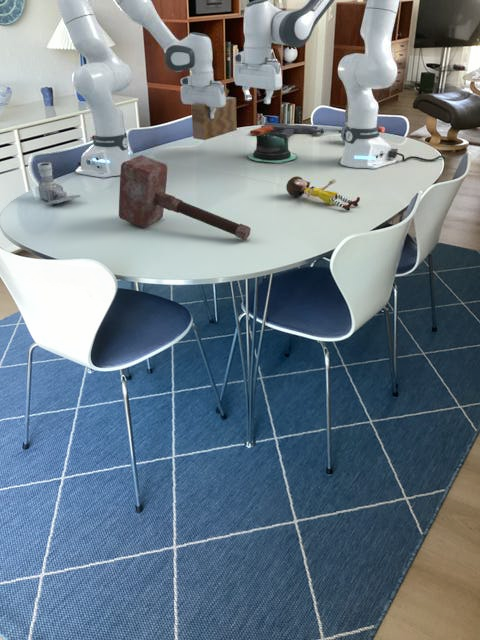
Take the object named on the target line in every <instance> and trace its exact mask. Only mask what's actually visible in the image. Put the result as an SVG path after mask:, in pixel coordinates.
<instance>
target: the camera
mask: <svg viewBox="0 0 480 640" xmlns="http://www.w3.org/2000/svg"><path fill="white" fill-rule="evenodd" d="M37 169H38V172H39V174H40V179H41V182H39V183H38V186H37V187H38V194H39V198H40V199H42V200H45V201H47V205H53V204H60V203H63V202H67V201H70V200H75V199H78V198H81V197H82V196H81V195H80V194H73V195H68V194H67V192H66V190H64V186H62V185H61V184H59V183H55V181H54V177H53V166H52V163H51V162H50V161H43V162H39V163H37ZM67 195H68V196H67Z"/></svg>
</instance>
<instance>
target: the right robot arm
mask: <svg viewBox="0 0 480 640" xmlns="http://www.w3.org/2000/svg"><path fill="white" fill-rule="evenodd" d="M334 2H335V0H307V1H306V3H305V4H304V5H303V6H302V7H301V8H298V9H296V10H283V9H281V8H279V7H277V6H275V5H274V4H272V2H271V1H270V0H252V1H249V2H248V3H247V4H246V5H245V7H244V11H243V35H244V43H243V50H242V51H240V52H238V53H236V54H234V55H233V62H234V65H233V81H234V84H235V86H240V87H242V92H243V93H244V94H243V95H244V100H245V101H247V102H250V101H252V99H253V98H252V97H253V95H252V94H251V93H250V89H251V88H252V89H253V88H255V89H260V90H261V89H262V90H265V93H266V96H265V97H264V98H263V104H266V105H270V104H271V101H272V97H273V94H274V91H279V90H281V89H282V87H283V75H282V74H283V73H282V69H281V62H280V61H279V60H278V59H277V58H276V57H275V58H272V44H274V45H275V44H276V45H281V46H288V47H291V48H301V47H303V46H304V45H306V43H307V42H309V40H310V38H311V36H312V34H313V32H314V29H315V28H316V26H317V24H318V22H319V21H320V20H321V18H323V16H324V15H325V13H326V12H327V11H328V10H329V8H330V7H331V6H332V4H333V3H334ZM399 5H400V0H367V1H366V5H365V9H364V13H363V17H362V22H361V27H360V31H359V32H360V36H361V38H362V40H363V41H364V53H359V52H355V53H351V54H346V55H344V56H343V57H342V58H341V59H340V61H339V63H338V66H337V74H338V75H337V76H338V78H339V79H340V80H341V82H342V85H343V87H344V89H345V90H344V91H345V93H346V97H347V98H346V99H348V122H347V126H346V132H345V137H346V141H344V147H343V152H342V155H341V159H340V162H339V163H340V165H342V166H345V167H348V168H355V169H370V170H371V169H373V170H375V169H379V168H381V167H384V166H388V165H391V164H395V163H397V156H400V157H402V158H401V160H402V162H405V161H408V160H410V159H417V160H420V161H422V162H423V161H424V162H435V161H436V160H438V159H440V158H442V159H443V160H446V156H444V155H438V156H436V157H435V158H432V159H431V158H430V159H429V158H425V157H424V158H423V157H420V156H417V155H416V156H414V155H410V156H408V157H406V158H405V155H404V154H403V153H400V152H398V151H399V149H398V148H392V147H391V145H390V144H389V143H388V142H387V141H386V140H384V138H383V137H381V136H380V133H382V134H383V133H385V131H386V128H385V127H384V126H378V115H379V103H378V101H377V100H376V99H375V96H374V94H373V91H372V90H382V89H387V88H390V87H392V85H393V84H394V83H395V82H396V79H397V76H398V64H397V63H396V61H395V60H394V57H393V53H392V37H393V32H394V27H395V23H396V18H397V14H398V11H399Z"/></svg>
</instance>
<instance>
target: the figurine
mask: <svg viewBox="0 0 480 640" xmlns="http://www.w3.org/2000/svg"><path fill="white" fill-rule="evenodd" d="M336 182H337V180H336V179H335V178H333V179H330V180H329V182H328V183H327V184H326V185H324V186H323V187H321V188H318V187H315V186H313V185H312V186H310V185H311V182H310V181H308V180H304V179H303V178H302V177H300V176H292V177H291V178H290V179H289V180H288V181H287V183H286V186H285V187H286V192H287V193H288V195H290V196H291V197H302V196H303V195H305V196H306V197H307V198H308V199H309V198H310V197H316V198H319V199H320V200H322V201H323V202H324V203H326V204H328V205H333V204H334V205H335V206H337V207H340V208H342V209H344V210H346V211H350V210H351V206H354V207H358V206H359V204H358V203H359V202H360V201H361V197H359V196H358V197H356V200H351V199H349V198H347V197H345V196H343V195H342V194H339V192H336V191H330V190H326V189H327V188H328V187H329V186H332V185H334V183H336ZM339 200H340V201H342V202H343V203H346V204H343V203H342V202H340V201H339Z"/></svg>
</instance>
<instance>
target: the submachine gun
mask: <svg viewBox="0 0 480 640" xmlns="http://www.w3.org/2000/svg"><path fill="white" fill-rule="evenodd" d="M318 128H319V127H318V126H315V125H313V126H312V125H304V124H303V125H302V124H291V123H278V122H264V124H262V125H261V126H260V127H259V128H256V129H252V130H250V131H249V134H250V135H251V136H255V137H257V135H259V134H263V133H267V132H279V133H284V134H286V135H287V136H288V138H290V137H291V136H292V135H293V134H311V136H312V137H319V136H322V135H323V134H324V133H325V130H324V128H319V129H318Z"/></svg>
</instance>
